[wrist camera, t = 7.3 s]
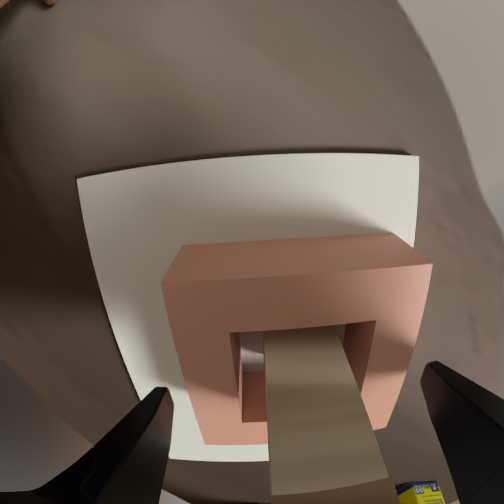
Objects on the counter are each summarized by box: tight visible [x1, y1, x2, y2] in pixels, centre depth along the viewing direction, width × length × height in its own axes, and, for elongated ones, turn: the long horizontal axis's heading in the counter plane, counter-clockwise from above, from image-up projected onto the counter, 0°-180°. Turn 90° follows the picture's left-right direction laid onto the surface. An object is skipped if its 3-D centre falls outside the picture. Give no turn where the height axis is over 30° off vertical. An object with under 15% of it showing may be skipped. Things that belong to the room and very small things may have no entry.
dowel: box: [263, 325, 400, 504], centre depth 8 cm, size 3×3×9 cm
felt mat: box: [77, 153, 419, 462], centre depth 13 cm, size 18×13×1 cm
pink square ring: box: [160, 233, 433, 445], centre depth 11 cm, size 8×8×3 cm
